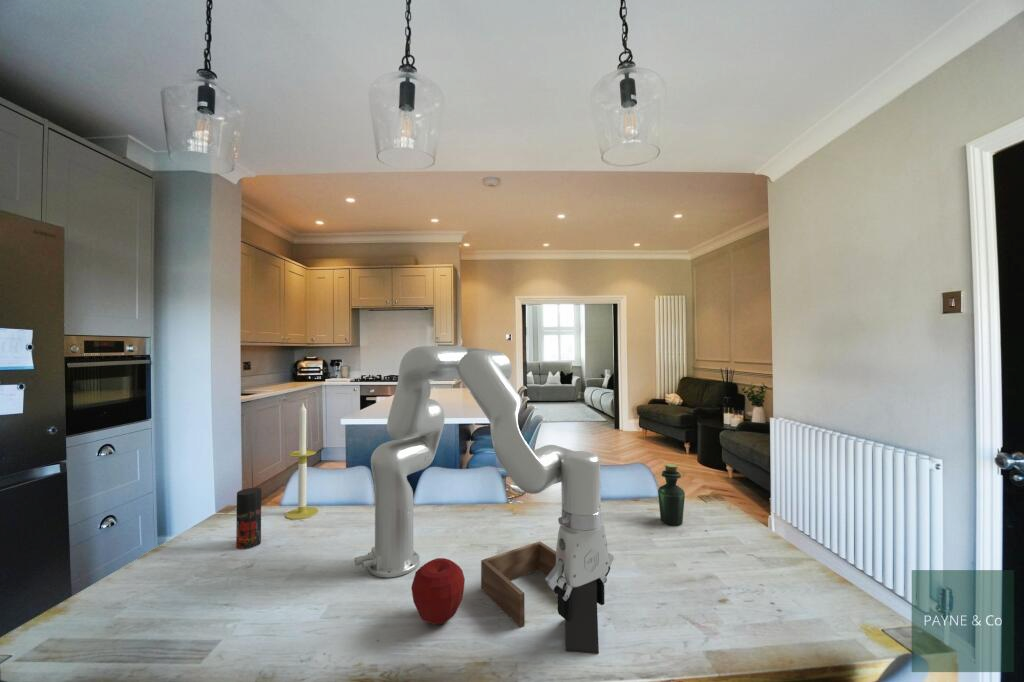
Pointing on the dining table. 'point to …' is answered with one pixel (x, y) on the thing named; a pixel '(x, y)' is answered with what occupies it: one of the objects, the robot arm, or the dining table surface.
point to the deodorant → (248, 518)
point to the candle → (302, 472)
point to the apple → (438, 590)
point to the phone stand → (583, 619)
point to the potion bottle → (671, 497)
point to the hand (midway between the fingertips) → (581, 608)
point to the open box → (514, 576)
